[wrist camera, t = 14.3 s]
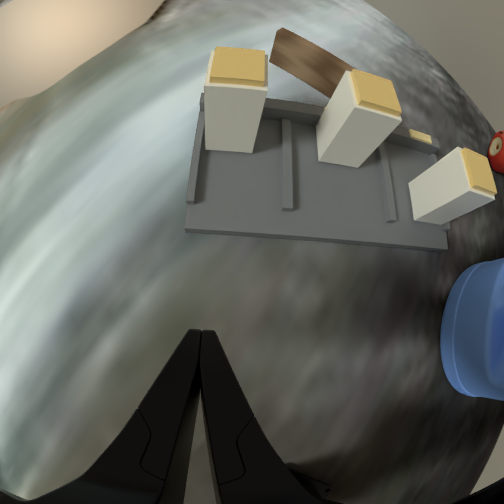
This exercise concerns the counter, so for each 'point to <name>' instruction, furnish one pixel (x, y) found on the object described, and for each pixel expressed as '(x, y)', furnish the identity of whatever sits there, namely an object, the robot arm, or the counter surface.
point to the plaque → (308, 61)
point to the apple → (497, 152)
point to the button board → (310, 186)
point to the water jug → (475, 331)
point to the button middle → (357, 119)
